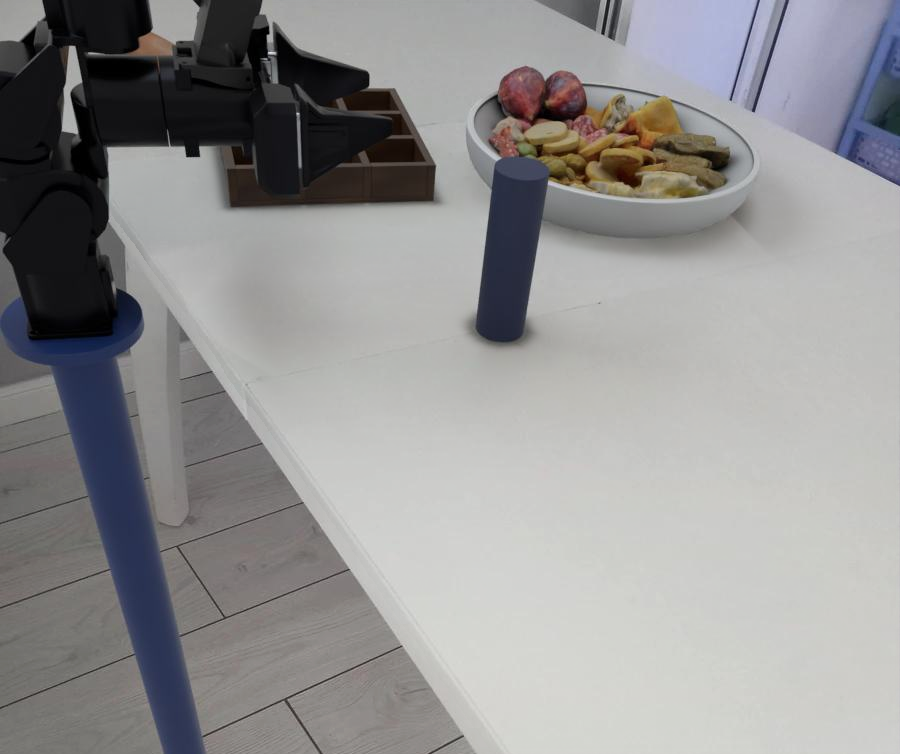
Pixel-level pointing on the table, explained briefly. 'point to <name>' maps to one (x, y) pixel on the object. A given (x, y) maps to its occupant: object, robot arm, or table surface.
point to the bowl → (615, 154)
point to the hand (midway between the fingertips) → (380, 101)
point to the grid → (352, 163)
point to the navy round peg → (511, 246)
